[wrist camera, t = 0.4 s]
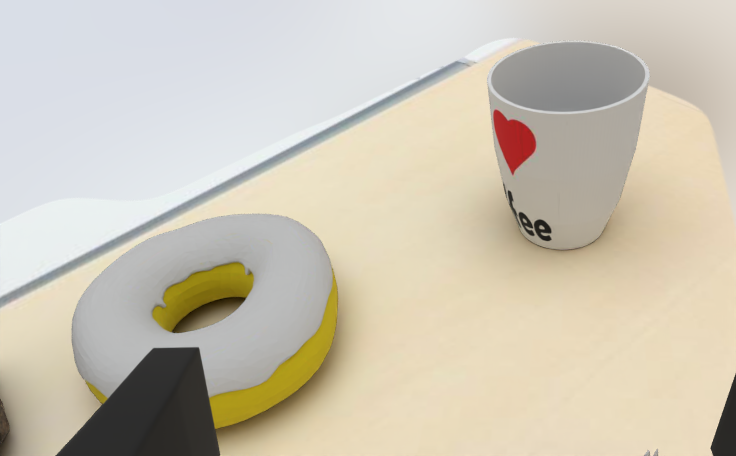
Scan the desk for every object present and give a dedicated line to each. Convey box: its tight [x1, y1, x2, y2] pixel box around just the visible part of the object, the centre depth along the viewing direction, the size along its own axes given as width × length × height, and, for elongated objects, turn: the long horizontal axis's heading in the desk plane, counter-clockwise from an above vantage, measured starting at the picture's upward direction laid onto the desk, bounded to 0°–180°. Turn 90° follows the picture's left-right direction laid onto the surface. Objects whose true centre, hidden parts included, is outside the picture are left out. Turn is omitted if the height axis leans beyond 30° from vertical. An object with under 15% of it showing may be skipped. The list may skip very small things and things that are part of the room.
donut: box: [72, 214, 338, 429], centre depth 37 cm, size 14×14×5 cm
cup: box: [487, 41, 649, 250], centre depth 39 cm, size 8×8×10 cm
